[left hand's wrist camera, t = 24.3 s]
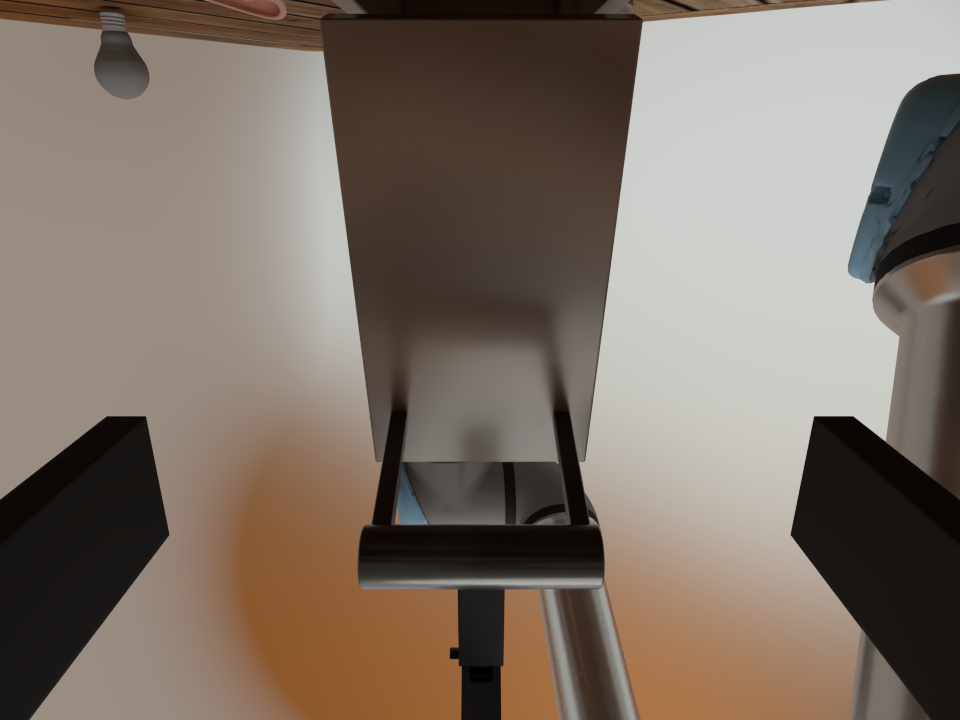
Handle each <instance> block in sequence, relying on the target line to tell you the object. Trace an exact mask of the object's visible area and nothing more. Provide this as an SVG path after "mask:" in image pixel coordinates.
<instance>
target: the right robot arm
mask: <svg viewBox="0 0 960 720" xmlns="http://www.w3.org/2000/svg"><path fill="white" fill-rule="evenodd" d="M632 13H633V0H630V1H629V2H628V3H627V4H625V5H624V6H623V7H622V8H621V9H619V10H618V11H617V12H616V13H615V14H632ZM585 498H586V503H587V509H588V514H589V520H590V524H596V525H598V526H599V522H598V519H597V515H596V513H595V510H594V508H593V506H592V504H591V502H590V500H589V498H588V497H587V495H586V494H585ZM397 508H398V513H399V518H400V522H401V524H567V517H566V510H565V504H564V497H563V490H562V483H561V476H560V469H559V464H558V463H556V462H403V465H402V472H401V479H400V487H399V494H398V501H397ZM599 528H600V526H599ZM600 531H601V530H600ZM538 591H539V597H540V603H541V609H542V615H543V621H544V628H545V634H546V640H547V646H548V652H549V658H550V664H551V671H552V677H553V683H554V689H555V695H556V701H557V707H558V713H559V719H560V720H641V718H640V714H639V710H638V706H637V703H636V699H635V695H634V691H633V687H632V683H631V679H630V675H629V671H628V668H627V664H626V660H625V656H624V652H623V648H622V644H621V640H620V636H619V633H618V629H617V625H616V621H615V617H614V613H613V609H612V605H611V602H610V598H609V594H608V590H607V586H606V582H605V579H604V581H603V585H602V588H601V589H538ZM504 592H505V589H458V635H459V648H450V659H459V666H462V709H461V720H501V666H503V654H504V653H503V652H504Z"/></svg>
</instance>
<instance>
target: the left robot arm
mask: <svg viewBox="0 0 960 720" xmlns="http://www.w3.org/2000/svg"><path fill="white" fill-rule="evenodd" d="M848 272H849V274H850V275H851V276H852V277H854V278H858V279H861V280H862V281H865V282H866V283H872V282H875V285H874V292H873V307H874V311H875V313H876V315H877V316H878V318H879V319H880V320H881V321H882V322H883V323H884V324H885V325H886V326H887V327H888V328H889V329H891V330H892V331H893V332H895V333H896V334H897V335H898V336H899V337H900V339H899V346H898V354H897V362H896V369H895V376H894V384H893V392H892V399H891V407H890V414H889V422H888V429H887V437H886V442H885V441H884V440H883V439H881V438H880V437H879V436H878V435H876V434H875V433H874V432H872V431H871V430H870V429H869V428H867V427H866V426H865V425H863V424H862V423H861V422H860V421H858V420H857V419H856V418H855V417H853V416H815V417H814V420H813V425H812V430H811V435H810V440H809V445H808V450H807V455H806V460H805V465H804V470H803V475H802V480H801V485H800V490H799V495H798V500H797V505H796V510H795V515H794V520H793V525H792V531H791V536H792V537H793V539H794V540H795V541H796V543H797V544H798V545H799V547H800V548H801V549H802V551H803V552H804V553H805V555H806V556H807V557H808V559H809V560H810V561H811V562H812V564H813V565H814V566H815V568H816V569H817V570H818V572H819V573H820V574H821V576H822V577H823V578H824V580H825V581H826V582H827V584H828V585H829V586H830V588H831V589H832V590H833V592H834V593H835V594H836V595H837V597H838V598H839V599H840V601H841V602H842V603H843V605H844V606H845V607H846V609H847V610H848V611H849V613H850V614H851V615H852V617H853V618H854V619H855V621H856V622H857V623H858V625H859V626H860V627H861V634H860V641H859V649H858V656H857V664H856V671H855V679H854V686H853V694H852V701H851V709H850V717H849V720H960V74H950V75H939V76H935V77H932V78H929V79H928V80H926V81H923V82H921V83H919V84H917V85H916V86H914V87H913V88H912V89H911V90H910V91H909V92H908V93H907V94H906V96H905V97H904V99H903V100H902V102H901V104H900V106H899V108H898V111H897V113H896V116H895V118H894V121H893V124H892V126H891V129H890V132H889V135H888V138H887V140H886V144H885V146H884V149H883V152H882V155H881V159H880V162H879V164H878V168H877V171H876V174H875V177H874V180H873V184H872V188H871V193H870V195H869V196H868V200H867V203H866V207H865V210H864V212H863V215H862V218H861V221H860V224H859V227H858V231H857V234H856V238H855V241H854V245H853V248H852V252H851V255H850V260H849V264H848ZM168 536H169V530H168V525H167V520H166V515H165V510H164V505H163V500H162V495H161V490H160V485H159V480H158V475H157V470H156V465H155V460H154V455H153V450H152V445H151V440H150V435H149V430H148V425H147V420H146V417H145V416H107V417H106V418H104V419H103V420H102V421H100V422H99V423H98V424H97V425H95V426H94V427H93V428H91V429H90V430H89V431H88V432H86V433H85V434H84V435H82V436H81V437H80V438H79V439H77V440H76V441H75V442H73V443H72V444H71V445H70V446H68V447H67V448H66V449H64V450H63V451H62V452H61V453H59V454H58V455H57V456H56V457H54V458H53V459H52V460H50V461H49V462H48V463H47V464H45V465H44V466H43V467H41V468H40V469H39V470H38V471H36V472H35V473H34V474H32V475H31V476H30V477H29V478H27V479H26V480H25V481H24V482H22V483H21V484H20V485H18V486H17V487H16V488H15V489H13V490H12V491H11V492H9V493H8V494H7V495H6V496H4V497H3V498H2V499H0V720H30V718H31V717H32V716H33V714H34V713H35V712H36V710H37V709H38V708H39V706H40V705H41V704H42V702H43V701H44V700H45V698H46V697H47V696H48V694H49V693H50V692H51V690H52V689H53V688H54V687H55V685H56V684H57V683H58V681H59V680H60V679H61V677H62V676H63V675H64V673H65V672H66V671H67V669H68V668H69V667H70V665H71V664H72V663H73V661H74V660H75V659H76V658H77V656H78V655H79V653H80V652H81V651H82V650H83V648H84V647H85V646H86V644H87V643H88V642H89V640H90V639H91V638H92V636H93V635H94V634H95V632H96V631H97V630H98V628H99V627H100V626H101V625H102V623H103V622H104V621H105V619H106V618H107V617H108V615H109V614H110V613H111V611H112V610H113V609H114V607H115V606H116V605H117V603H118V602H119V601H120V599H121V598H122V597H123V595H124V594H125V593H126V592H127V590H128V589H129V588H130V586H131V585H132V584H133V582H134V581H135V580H136V578H137V577H138V576H139V574H140V573H141V572H142V570H143V569H144V568H145V566H146V565H147V564H148V562H149V561H150V560H151V559H152V557H153V556H154V554H155V553H156V552H157V551H158V549H159V548H160V547H161V545H162V544H163V543H164V541H165V540H166V539H167V537H168Z"/></svg>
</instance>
